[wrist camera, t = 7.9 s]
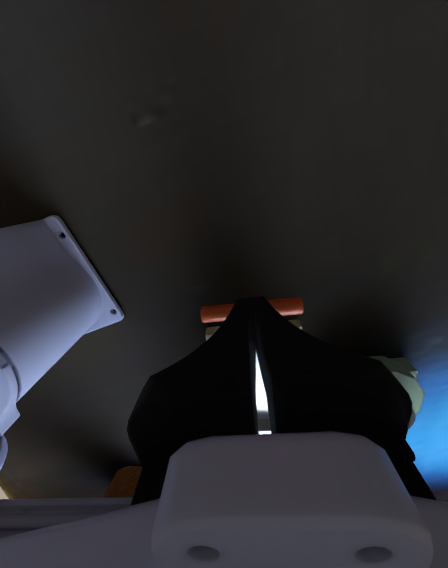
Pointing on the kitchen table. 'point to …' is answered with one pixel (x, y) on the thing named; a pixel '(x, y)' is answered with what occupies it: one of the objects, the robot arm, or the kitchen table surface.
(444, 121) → the kitchen table surface
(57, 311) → the robot arm
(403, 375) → the block
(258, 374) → the toaster lever
